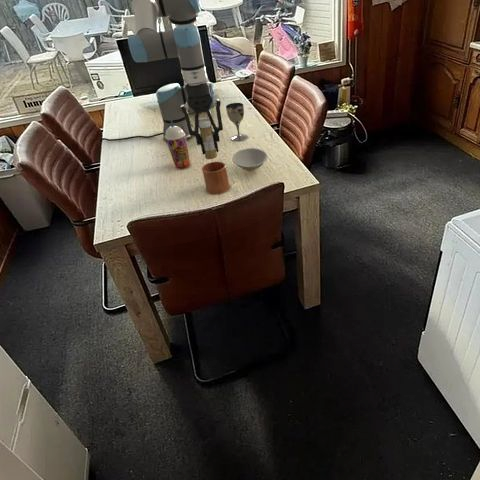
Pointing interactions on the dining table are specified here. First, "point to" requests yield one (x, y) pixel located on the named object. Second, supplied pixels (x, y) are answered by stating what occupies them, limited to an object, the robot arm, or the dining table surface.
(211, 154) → the sprinkles bottle
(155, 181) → the dining table surface
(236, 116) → the wine glass
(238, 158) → the dish
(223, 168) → the tumbler
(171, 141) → the smoothie
